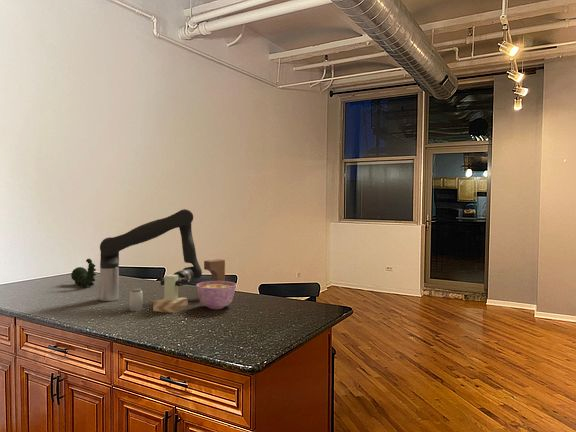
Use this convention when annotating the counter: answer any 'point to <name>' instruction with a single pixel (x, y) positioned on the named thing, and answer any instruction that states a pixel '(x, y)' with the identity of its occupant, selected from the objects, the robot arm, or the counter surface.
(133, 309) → the ceramic jar
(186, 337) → the counter surface
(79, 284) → the toy figurine
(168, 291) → the sage block
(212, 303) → the bowl of food
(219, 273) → the decorative block
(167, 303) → the maple block
